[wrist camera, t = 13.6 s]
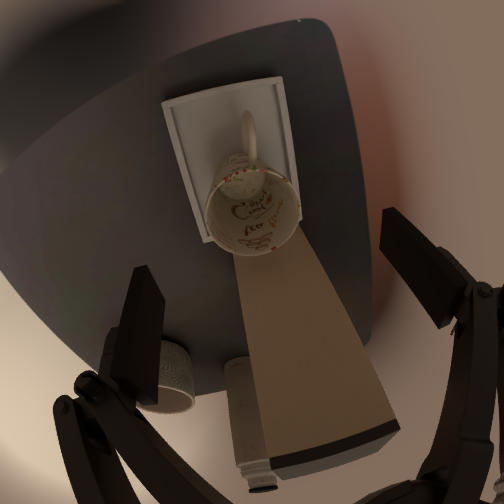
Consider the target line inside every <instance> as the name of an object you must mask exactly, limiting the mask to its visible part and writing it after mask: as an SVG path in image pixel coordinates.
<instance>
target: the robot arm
mask: <svg viewBox="0 0 504 504" xmlns="http://www.w3.org/2000/svg"><path fill="white" fill-rule="evenodd" d="M379 249H380V251H381V252H382V253H383V254H384V255H385V257H386V258H387V259H388V260H389V262H390V263H391V264H392V266H393V267H394V268H395V269H396V271H397V272H398V273H399V274H400V276H401V277H402V278H403V280H404V281H405V282H406V284H407V285H408V286H409V288H410V289H411V291H412V292H413V293H414V295H415V296H416V297H417V299H418V300H419V302H420V303H421V304H422V306H423V307H424V309H425V310H426V311H427V313H428V314H429V316H430V317H431V319H432V320H433V322H434V323H435V325H436V326H437V328H438V329H441V328H443V327H445V326H447V325H449V324H450V322H451V321H452V319H453V317H454V316H455V318H456V319H457V322H456V324H455V326H454V327H453V330H452V331H451V334H450V335H453V333H454V331H455V335H454V345H453V353H452V361H451V368H450V374H449V379H448V386H447V390H446V395H445V400H444V404H443V409H442V413H441V416H440V421H439V424H438V428H437V431H436V435H435V438H434V441H433V445H432V447H431V450H430V453H429V455H428V456H427V458H426V459H425V460H424V462H423V464H422V466H421V468H420V470H419V473H418V475H417V477H416V480H412V481H410V480H406V481H403V482H400V483H397V484H393V485H390V486H388V487H385V488H383V489H381V490H378V491H376V492H373V493H371V494H369V495H367V496H366V497H364V498H362V499H361V500H359V501H357V502H356V503H354V504H491V503H488V502H485V501H482V500H479V499H480V496H481V493H482V491H483V488H484V485H485V482H486V478H487V475H488V472H489V468H490V464H491V461H492V457H493V452H494V445H493V443H492V442H491V441H490V431H491V426H492V420H493V414H494V406H495V398H496V388H497V393H498V403H499V424H500V444H499V462H500V473H501V477H500V479H498V480H497V481H496V482H495V484H494V487H493V488H494V491H495V492H497V494H496V498H495V499H494V501H493V503H492V504H504V284H503V286H502V287H499V288H492V287H491V286H490V285H489V284H488V283H485V282H477V281H476V280H475V279H474V278H473V277H472V276H471V275H470V274H469V273H468V271H467V270H466V269H465V268H464V267H463V266H462V265H461V264H459V262H458V261H457V260H456V259H455V258H454V256H453V255H452V254H451V253H450V252H449V251H447V250H446V249H444V248H442V247H437V248H436V247H435V246H434V245H433V244H432V243H431V242H430V241H429V240H428V239H427V238H426V237H425V236H424V235H423V234H422V233H421V232H420V231H419V230H418V229H417V228H416V227H415V226H414V225H413V224H412V223H411V222H410V221H408V220H407V219H406V218H405V217H404V216H403V215H402V214H401V213H400V212H399V211H397V210H396V209H395V208H394V207H391V208H386V209H383V212H382V225H381V236H380V245H379ZM164 310H165V299H164V297H163V295H162V293H161V291H160V289H159V288H158V286H157V284H156V282H155V280H154V278H153V276H152V274H151V272H150V270H149V268H148V266H147V265H143V266H139V267H135V268H134V270H133V274H132V277H131V281H130V284H129V288H128V292H127V296H126V299H125V303H124V307H123V311H122V315H121V320H120V324H119V327H114V328H111V330H110V331H109V333H108V335H107V336H106V340H105V344H104V348H103V355H102V357H101V362H100V367H99V372H98V375H97V374H96V373H95V372H94V371H90V370H88V371H84V372H83V373H81V374H80V375H79V376H78V377H77V378H76V381H75V383H74V392H75V393H76V394H77V395H78V396H79V398H76V399H72V398H71V397H69V396H68V395H62V396H60V397H58V398H57V399H56V401H55V402H54V405H53V415H54V421H55V426H56V431H57V436H58V440H59V445H60V449H61V453H62V456H63V460H64V464H65V467H66V471H67V474H68V477H69V480H70V483H71V486H72V489H73V492H74V494H75V497H76V500H77V502H78V504H141V503H140V501H139V499H138V497H137V496H136V494H135V492H134V490H133V488H132V486H131V484H130V482H129V479H128V477H127V475H126V473H125V471H124V468H123V466H122V464H121V462H120V459H119V457H118V454H117V452H116V450H117V451H118V453H119V454H120V456H121V457H122V458H123V460H124V461H125V462H126V464H127V465H128V467H129V468H130V469H131V470H132V472H133V473H134V474H135V476H136V477H137V478H138V479H139V480H140V482H141V483H142V484H143V485H144V486H145V488H146V489H147V490H148V491H149V492H150V493H151V495H152V496H153V497H154V498H155V499H156V500H157V501H158V502H159V503H160V504H233V503H232V502H231V501H229V500H228V499H227V498H225V497H224V496H223V495H222V494H220V493H219V492H218V491H217V490H216V489H215V488H213V487H212V486H211V485H210V484H209V483H208V482H206V481H205V480H204V479H203V478H202V477H201V476H200V475H199V474H198V473H197V472H196V471H195V470H193V469H192V468H191V467H190V466H189V465H188V464H187V463H186V462H185V461H184V460H183V459H182V458H181V457H180V456H179V455H178V454H177V453H176V452H175V451H174V450H173V449H172V448H171V447H170V446H169V445H168V443H167V442H166V441H165V440H164V439H163V438H162V437H161V436H160V434H159V433H158V432H157V431H156V430H155V429H154V428H153V426H152V425H151V424H150V423H149V422H148V421H147V420H146V418H145V417H144V416H143V415H142V413H141V412H140V411H139V410H138V409H137V408H136V401H138V402H139V403H140V404H141V405H143V406H146V405H158V386H159V368H160V353H161V341H162V329H163V319H164Z"/></svg>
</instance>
